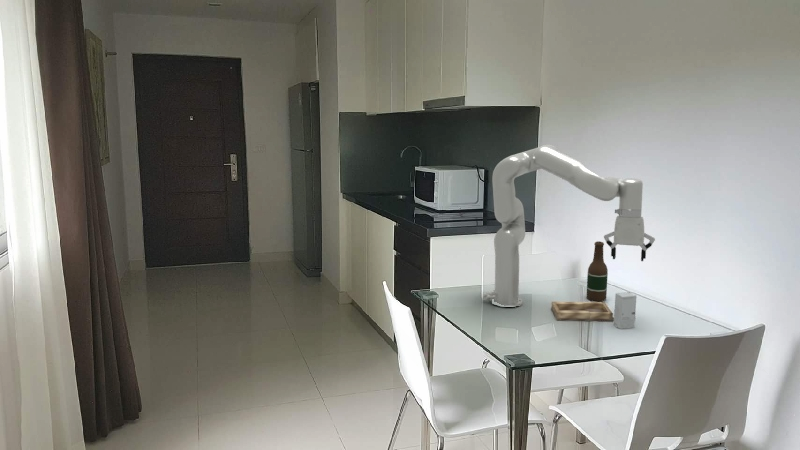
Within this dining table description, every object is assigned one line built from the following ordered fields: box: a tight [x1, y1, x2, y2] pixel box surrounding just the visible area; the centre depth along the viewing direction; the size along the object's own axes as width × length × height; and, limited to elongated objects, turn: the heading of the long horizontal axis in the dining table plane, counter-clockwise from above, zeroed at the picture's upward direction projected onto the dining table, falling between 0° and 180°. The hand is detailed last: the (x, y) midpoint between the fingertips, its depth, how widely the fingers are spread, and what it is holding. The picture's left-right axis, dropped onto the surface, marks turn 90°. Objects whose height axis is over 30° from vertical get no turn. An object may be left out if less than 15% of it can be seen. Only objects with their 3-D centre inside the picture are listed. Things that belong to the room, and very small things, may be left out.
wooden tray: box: [550, 301, 614, 323], centre depth 225 cm, size 21×13×3 cm, turn 85°
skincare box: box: [613, 291, 637, 330], centre depth 212 cm, size 6×4×12 cm
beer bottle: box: [586, 240, 609, 302], centre depth 240 cm, size 8×8×24 cm
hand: (628, 259), depth 216 cm, fingers open, 9 cm apart
